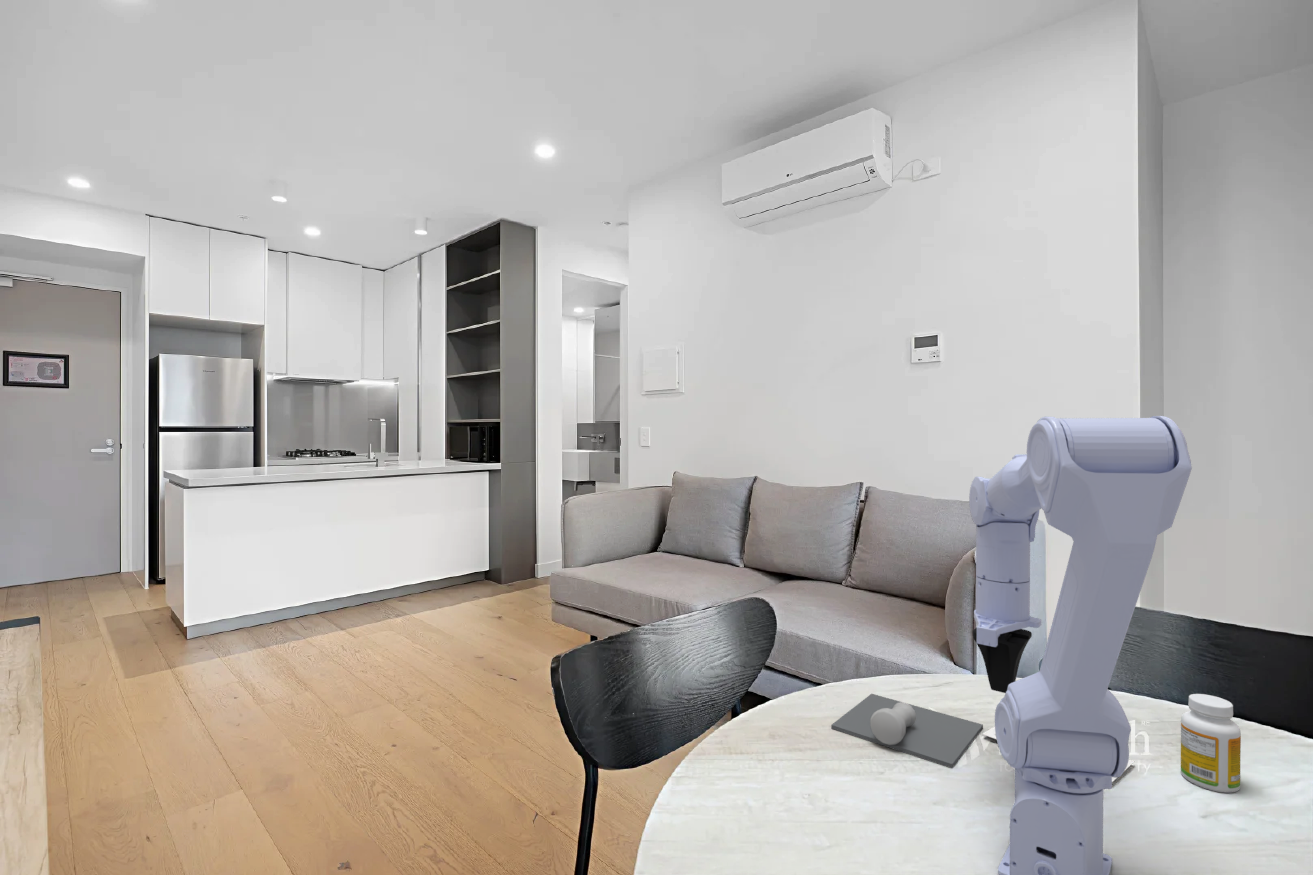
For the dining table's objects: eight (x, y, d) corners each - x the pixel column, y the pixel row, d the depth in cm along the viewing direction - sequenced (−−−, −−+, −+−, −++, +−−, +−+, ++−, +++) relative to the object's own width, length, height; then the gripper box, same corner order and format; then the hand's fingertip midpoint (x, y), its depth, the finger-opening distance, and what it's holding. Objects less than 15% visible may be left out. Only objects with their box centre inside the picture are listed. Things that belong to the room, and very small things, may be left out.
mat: (952, 768, 79) (952, 764, 79) (831, 728, 90) (831, 724, 90) (982, 728, 90) (983, 724, 90) (871, 696, 100) (871, 693, 100)
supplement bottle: (1223, 772, 78) (1224, 693, 78) (1251, 797, 73) (1252, 712, 73) (1171, 766, 79) (1172, 688, 79) (1194, 790, 74) (1195, 706, 74)
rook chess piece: (873, 703, 85) (894, 690, 91) (865, 735, 85) (887, 719, 91) (906, 720, 82) (926, 705, 88) (898, 752, 82) (918, 735, 89)
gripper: (1027, 595, 69) (1026, 720, 69) (1052, 572, 80) (1051, 680, 80) (957, 584, 73) (956, 702, 74) (990, 564, 84) (989, 666, 85)
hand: (1001, 690), depth 77 cm, fingers closed
